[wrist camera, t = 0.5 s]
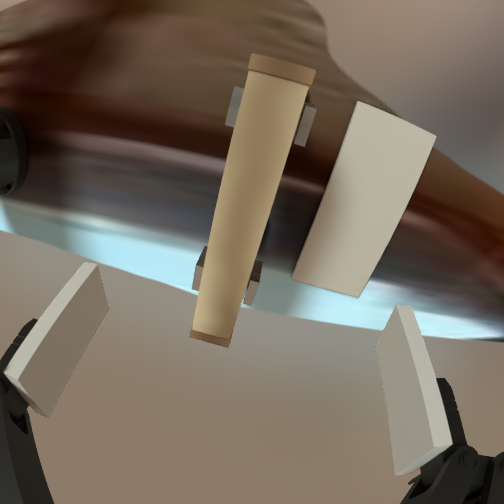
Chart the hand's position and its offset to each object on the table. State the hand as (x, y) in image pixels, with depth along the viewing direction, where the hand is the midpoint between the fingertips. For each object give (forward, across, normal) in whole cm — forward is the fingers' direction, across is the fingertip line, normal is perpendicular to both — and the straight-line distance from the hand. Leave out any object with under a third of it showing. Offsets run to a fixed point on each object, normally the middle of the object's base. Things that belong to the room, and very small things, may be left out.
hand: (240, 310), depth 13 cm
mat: (+24, +11, -5) cm, 27 cm away
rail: (+16, -1, -2) cm, 16 cm away
